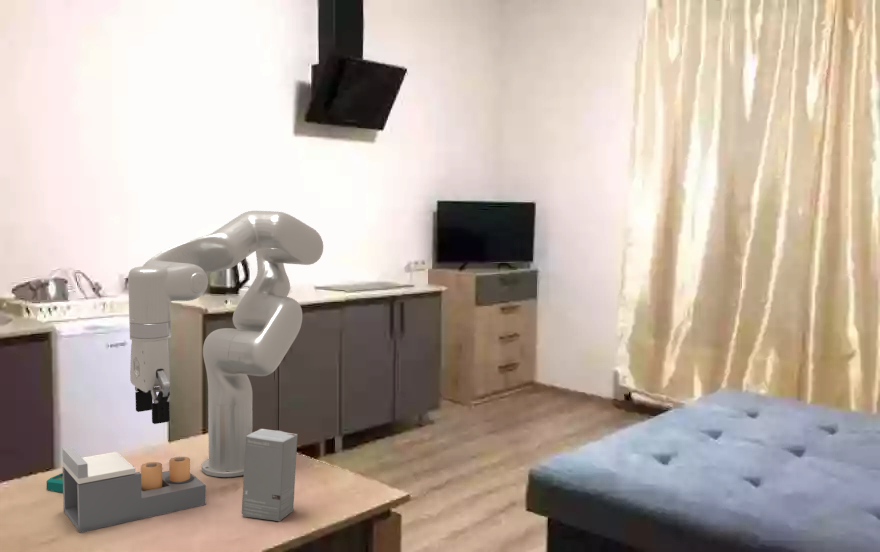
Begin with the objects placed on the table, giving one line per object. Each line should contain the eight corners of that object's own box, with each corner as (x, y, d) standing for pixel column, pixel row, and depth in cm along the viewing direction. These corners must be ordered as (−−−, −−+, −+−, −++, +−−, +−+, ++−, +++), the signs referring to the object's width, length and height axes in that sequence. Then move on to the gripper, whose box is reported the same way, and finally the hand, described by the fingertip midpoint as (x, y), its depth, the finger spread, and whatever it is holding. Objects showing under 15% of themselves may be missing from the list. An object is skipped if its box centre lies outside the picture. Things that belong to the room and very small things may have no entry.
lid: (116, 456, 160) (116, 439, 160) (135, 473, 151) (135, 455, 151) (62, 466, 154) (62, 448, 154) (78, 484, 145) (78, 465, 145)
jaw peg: (138, 503, 160) (137, 464, 159) (158, 499, 162) (158, 460, 162) (144, 510, 157) (144, 469, 156) (165, 505, 159) (165, 466, 158)
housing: (183, 486, 170) (183, 445, 169) (205, 504, 160) (205, 461, 159) (63, 511, 155) (62, 466, 155) (79, 532, 146) (78, 485, 145)
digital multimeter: (122, 473, 178) (122, 460, 178) (74, 497, 164) (74, 482, 163) (94, 469, 180) (94, 456, 180) (44, 492, 166) (44, 478, 166)
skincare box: (241, 517, 155) (240, 436, 153) (259, 503, 161) (259, 426, 160) (281, 523, 152) (281, 441, 151) (297, 509, 159) (298, 430, 158)
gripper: (117, 325, 161) (119, 409, 163) (145, 339, 147) (147, 431, 149) (154, 322, 165) (156, 403, 167) (185, 335, 152) (187, 424, 154)
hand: (152, 416), depth 158 cm, fingers open, 9 cm apart
